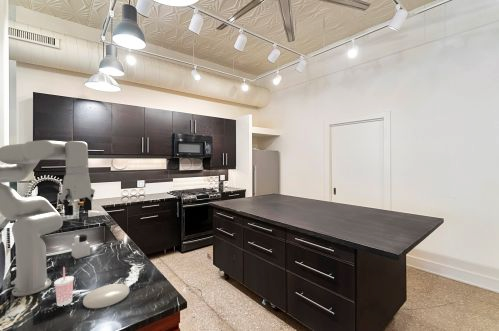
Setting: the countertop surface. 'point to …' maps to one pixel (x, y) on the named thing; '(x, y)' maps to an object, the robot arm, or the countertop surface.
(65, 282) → the beverage cup
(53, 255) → the countertop surface
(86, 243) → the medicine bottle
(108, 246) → the countertop surface
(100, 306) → the dish
